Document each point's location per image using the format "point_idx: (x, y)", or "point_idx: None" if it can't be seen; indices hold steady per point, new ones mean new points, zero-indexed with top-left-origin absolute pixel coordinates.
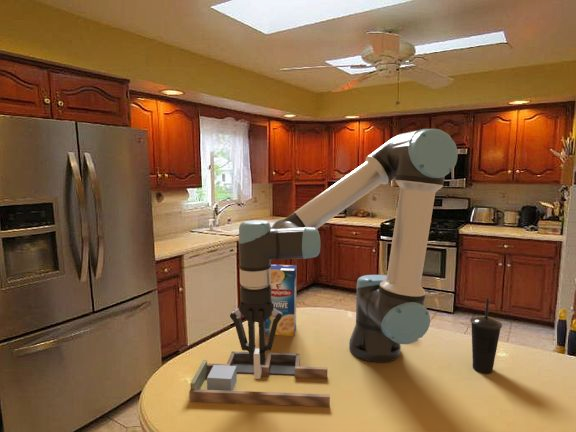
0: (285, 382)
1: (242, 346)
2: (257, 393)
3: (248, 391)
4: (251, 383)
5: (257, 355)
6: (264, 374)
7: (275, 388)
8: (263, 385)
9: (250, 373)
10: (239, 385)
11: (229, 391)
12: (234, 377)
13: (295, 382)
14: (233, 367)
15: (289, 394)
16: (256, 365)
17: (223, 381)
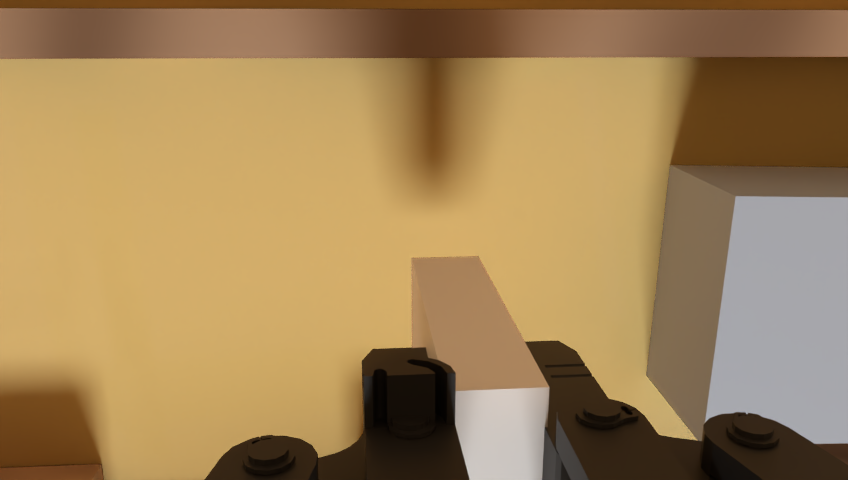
0: (181, 376)
1: (798, 450)
2: (407, 21)
3: (510, 54)
4: None
5: (478, 377)
6: None
7: (264, 274)
8: (385, 311)
9: None
10: (609, 292)
11: (713, 41)
12: (683, 325)
13: (84, 385)
14: None
15: (42, 27)
16: (472, 311)
17: (800, 190)
